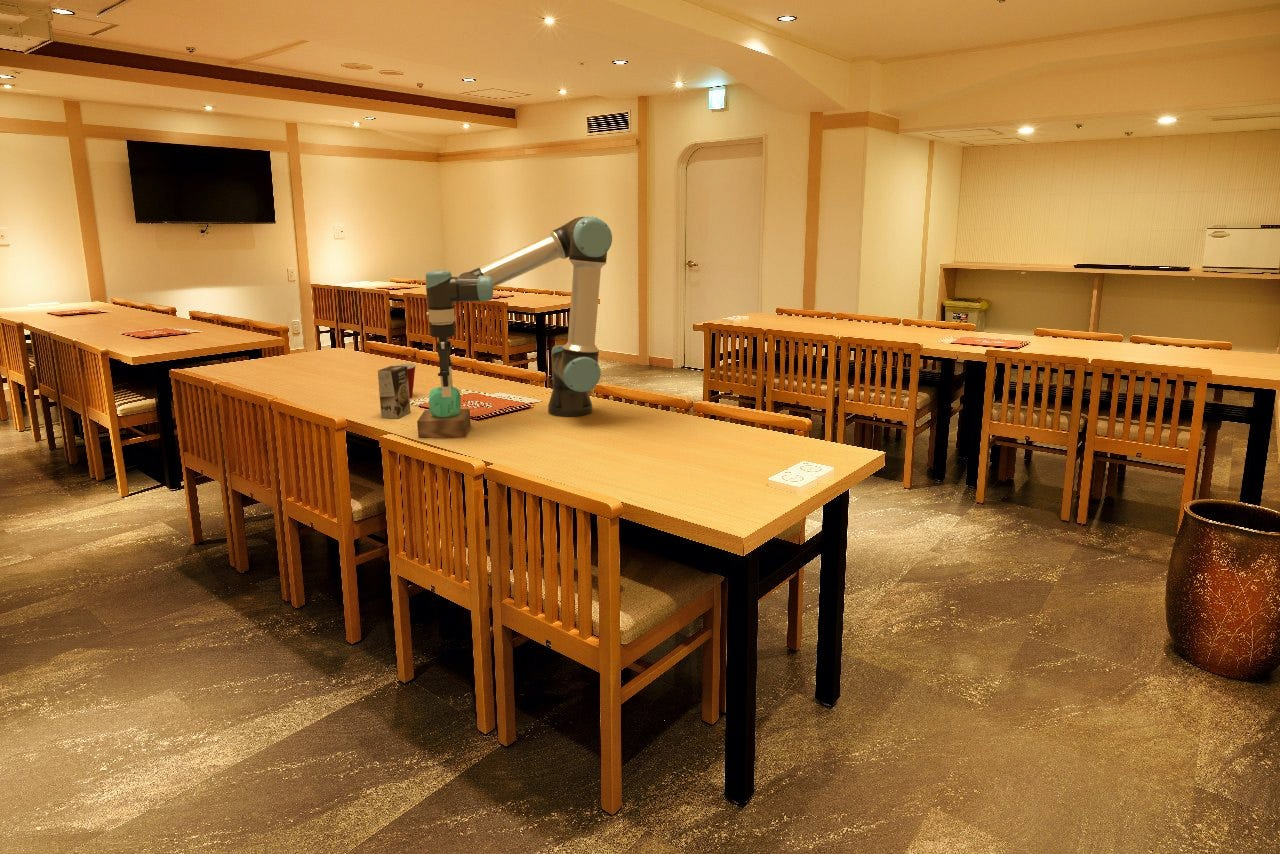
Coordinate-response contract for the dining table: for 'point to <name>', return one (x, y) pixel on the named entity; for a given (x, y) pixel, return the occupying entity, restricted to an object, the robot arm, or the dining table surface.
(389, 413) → the coffee box
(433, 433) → the walnut block
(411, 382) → the plastic cup
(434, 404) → the decorative dice
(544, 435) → the dining table surface
